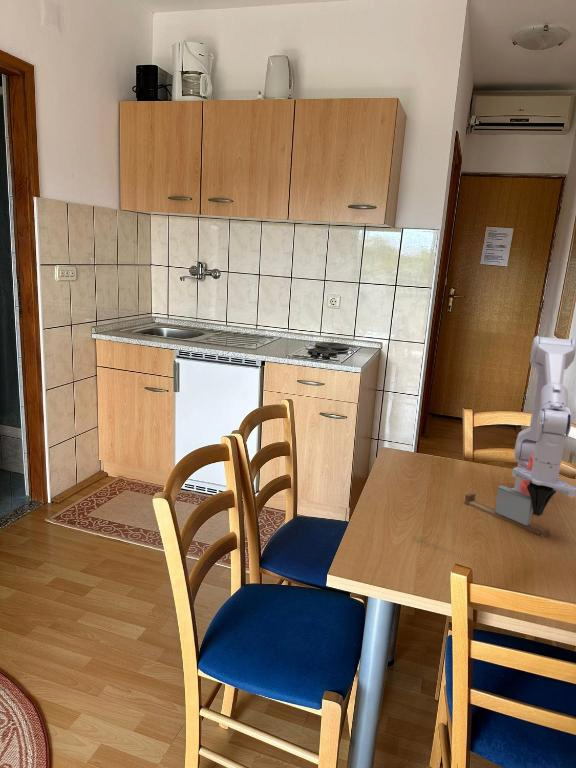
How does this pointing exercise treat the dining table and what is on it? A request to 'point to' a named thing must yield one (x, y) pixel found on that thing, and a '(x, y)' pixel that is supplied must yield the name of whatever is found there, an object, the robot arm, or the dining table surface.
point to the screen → (514, 505)
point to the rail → (471, 501)
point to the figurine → (525, 482)
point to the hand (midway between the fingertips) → (537, 514)
